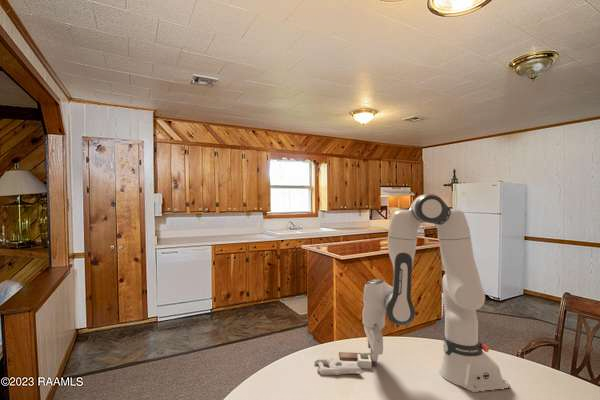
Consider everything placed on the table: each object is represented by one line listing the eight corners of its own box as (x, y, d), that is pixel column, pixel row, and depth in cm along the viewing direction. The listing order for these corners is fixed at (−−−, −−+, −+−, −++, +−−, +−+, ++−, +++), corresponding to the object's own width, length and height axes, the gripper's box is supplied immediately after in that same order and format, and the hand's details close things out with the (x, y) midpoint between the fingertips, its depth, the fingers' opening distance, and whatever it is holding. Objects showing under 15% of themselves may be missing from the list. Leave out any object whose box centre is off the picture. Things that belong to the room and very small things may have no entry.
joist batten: (371, 355, 124) (371, 353, 124) (373, 360, 120) (373, 358, 120) (338, 354, 125) (338, 352, 125) (339, 359, 121) (339, 357, 121)
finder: (369, 362, 119) (369, 354, 119) (371, 369, 114) (371, 360, 114) (357, 361, 120) (357, 353, 120) (358, 368, 115) (358, 359, 115)
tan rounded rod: (376, 362, 119) (376, 340, 119) (377, 366, 116) (377, 343, 116) (369, 362, 119) (370, 340, 119) (371, 365, 116) (371, 343, 116)
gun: (358, 354, 118) (363, 368, 108) (358, 362, 118) (363, 378, 108) (314, 355, 119) (314, 369, 109) (314, 363, 119) (314, 378, 109)
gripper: (387, 331, 107) (386, 368, 107) (376, 310, 128) (375, 342, 128) (370, 330, 108) (369, 367, 108) (361, 310, 128) (360, 341, 128)
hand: (372, 353), depth 118 cm, fingers open, 8 cm apart
